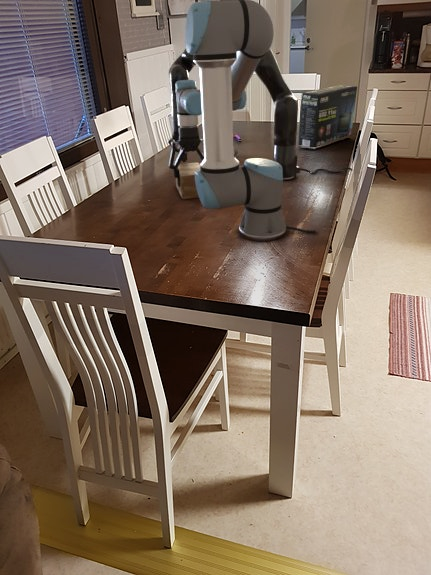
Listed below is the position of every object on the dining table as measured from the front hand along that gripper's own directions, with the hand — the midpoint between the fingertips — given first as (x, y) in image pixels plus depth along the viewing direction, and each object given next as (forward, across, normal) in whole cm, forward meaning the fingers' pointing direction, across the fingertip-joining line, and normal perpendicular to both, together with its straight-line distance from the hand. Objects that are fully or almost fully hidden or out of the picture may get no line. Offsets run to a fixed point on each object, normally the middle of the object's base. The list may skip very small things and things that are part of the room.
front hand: (192, 184), depth 181 cm
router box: (+4, -82, -56) cm, 99 cm away
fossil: (+4, -21, -45) cm, 50 cm away
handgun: (+4, -38, -84) cm, 93 cm away
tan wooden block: (+4, 0, -4) cm, 5 cm away
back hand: (-4, 0, -17) cm, 18 cm away
